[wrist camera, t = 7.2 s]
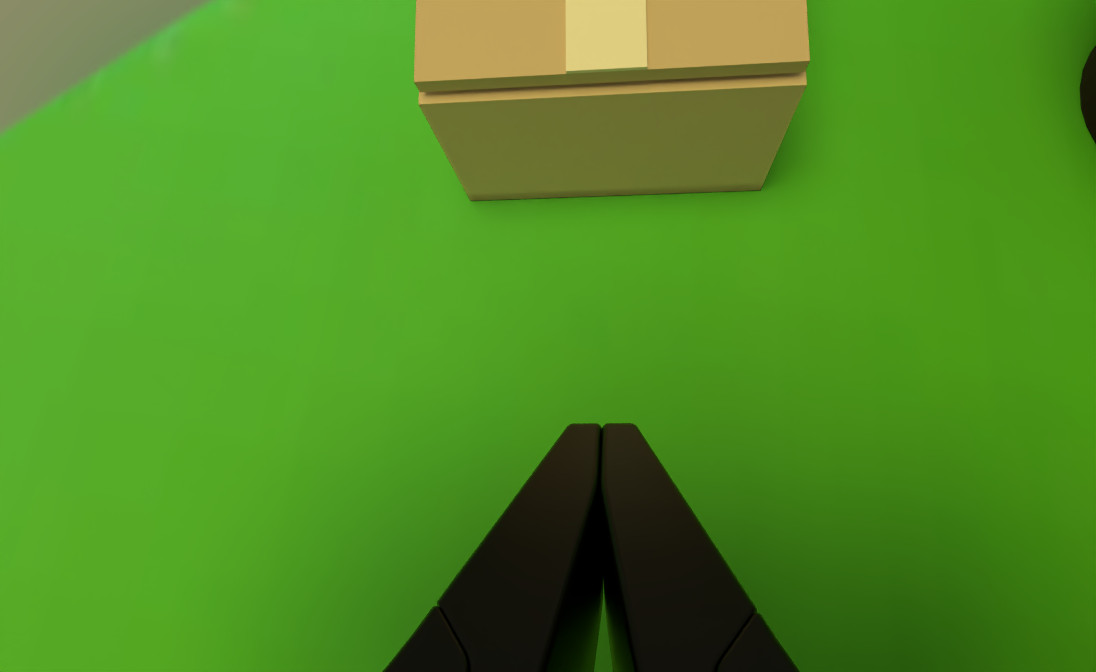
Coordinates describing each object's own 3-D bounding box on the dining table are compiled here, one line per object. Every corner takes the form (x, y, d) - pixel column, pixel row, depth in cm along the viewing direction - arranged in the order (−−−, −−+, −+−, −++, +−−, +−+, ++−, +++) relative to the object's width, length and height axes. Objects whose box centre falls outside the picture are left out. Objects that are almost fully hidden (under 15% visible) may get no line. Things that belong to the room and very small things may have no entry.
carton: (760, 190, 23) (806, 84, 17) (470, 200, 24) (418, 104, 18) (747, -39, 24) (785, -207, 18) (476, -21, 25) (431, -176, 19)
